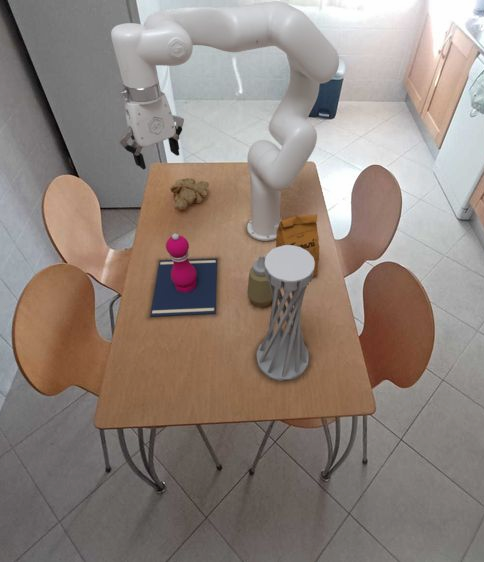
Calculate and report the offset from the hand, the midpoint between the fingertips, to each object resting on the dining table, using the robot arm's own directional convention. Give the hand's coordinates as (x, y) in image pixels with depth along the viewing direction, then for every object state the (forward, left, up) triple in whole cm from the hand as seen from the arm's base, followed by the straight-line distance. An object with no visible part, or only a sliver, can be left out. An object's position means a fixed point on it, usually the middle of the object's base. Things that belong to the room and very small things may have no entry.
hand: (158, 160), depth 99 cm
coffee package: (-37, -7, -35) cm, 51 cm away
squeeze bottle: (-31, +7, -35) cm, 47 cm away
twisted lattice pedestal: (-43, +23, -35) cm, 60 cm away
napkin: (-8, +10, -35) cm, 37 cm away
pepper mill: (-8, +10, -34) cm, 37 cm away
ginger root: (+12, -29, -35) cm, 47 cm away
